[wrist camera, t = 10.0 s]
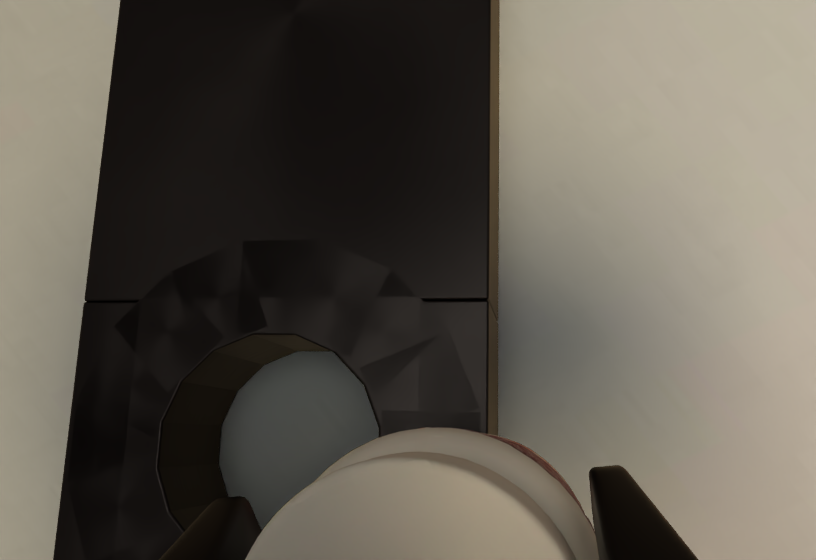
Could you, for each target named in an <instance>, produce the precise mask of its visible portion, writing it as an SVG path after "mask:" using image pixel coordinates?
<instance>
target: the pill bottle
mask: <svg viewBox="0 0 816 560" xmlns="http://www.w3.org/2000/svg"><path fill="white" fill-rule="evenodd" d="M245 560H599V555H598V549H597V542H596V536H595V531H594V529H593V527H592V525H591V523H590V521H589V519H588V518H587V516H586V515H585V513H584V511H583V509H582V507H581V504H580V502H579V501H578V499H577V498H576V496H575V494H574V493H573V491H572V490H571V488H570V487H569V485H568V484H567V482H566V481H565V480H564V478H563V477H562V476H561V475H560V474H559V473H558V472H557V471H556V470H555V469H554V468H553V467H552V466H551V465H550V464H549V463H548V462H547V461H546V460H545V459H543V458H542V457H541V456H539V455H538V454H537V453H535V452H534V451H532V450H530V449H529V448H527V447H525V446H523V445H521V444H519V443H517V442H514V441H512V440H509V439H506V438H503V437H500V436H496V435H491V434H486V433H480V432H477V431H473V430H468V429H459V428H447V427H443V428H442V427H435V428H431V427H425V428H419V429H412V430H406V431H400V432H396V433H392V434H389V435H386V436H382V437H379V438H377V439H374V440H372V441H370V442H368V443H366V444H364V445H362V446H360V447H358V448H356V449H354V450H352V451H351V452H349V453H348V454H346V455H345V456H343V457H342V458H340V459H339V460H337V461H336V462H335V463H334V464H332V465H331V466H330V467H329V468H327V469H326V470H325V471H324V472H323V473H322V474H321V475H320V476H319V477H318V478H317V479H316V480H315V481H314V482H313V483H312V484H310V485H309V486H307V487H306V488H304V489H303V490H302V491H300V492H299V493H298V494H296V495H295V496H294V497H293V498H292V499H291V500H289V501H288V502H287V503H286V504H285V505H284V506H283V507H282V508H281V509H280V510H279V511H278V512H277V513H276V514H275V515H274V517H273V518H272V519H271V520H270V521H269V522H268V524H267V525H266V526H265V528H264V529H263V531H262V532H261V533H260V535H259V536H258V538H257V539H256V541H255V543H254V544H253V546H252V548H251V550H250V551H249V553H248V555H247V557H246V559H245Z"/></svg>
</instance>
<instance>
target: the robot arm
mask: <svg viewBox="0 0 816 560" xmlns="http://www.w3.org/2000/svg"><path fill="white" fill-rule="evenodd" d="M589 480H590V491H591V503H592V514H593V522H594V529H595V536H596V542H597V549H598V555H599V560H698V559H697V557H696V556H695V555H694V554H693V552H692V551H691V550H690V549H689V547H688V546H687V545H686V544H685V542H684V541H683V540H682V539H681V537H680V536H679V535H678V534H677V533H676V531H675V530H674V529H673V528H672V526H671V525H670V524H669V523H668V521H667V520H666V519H665V518H664V516H663V515H662V514H661V513H660V511H659V510H658V509H657V508H656V506H655V505H654V504H653V503H652V501H651V500H650V499H649V498H648V497H647V495H646V494H645V493H644V492H643V490H642V489H641V488H640V487H639V485H638V484H637V483H636V482H635V480H634V479H633V478H632V477H631V475H630V474H629V473H628V472H627V471H626V469H624V468H623V467H622V466H619V465H615V466H603V467H594V468H592V469H591V470H590V472H589ZM261 532H262V531H261V528H260V526H259V524H258V521H257V519H256V517H255V514H254V512H253V510H252V507H251V505H250V503H249V501H248V500H247V499H246V498H245V497H241V496H239V497H226V498H218V499H216V500H214V501H213V502H212V503H211V504H210V505H209V506H208V507H207V508H206V509H205V510H204V511H203V512H202V513H201V514H200V516H199V517H198V518H197V519H196V520H195V521H194V522H193V523H192V524H191V525H190V526H189V527H188V529H187V530H186V531H185V532H184V533H183V534H182V535H181V536H180V537H179V538H178V539H177V541H176V542H175V543H174V544H173V545H172V546H171V547H170V548H169V549H168V550H167V551H166V552H165V554H164V555H163V556H162V557H161V558H160V559H159V560H245V559H246V557H247V555H248V553H249V551H250V550H251V548H252V546H253V544H254V543H255V541H256V539H257V538H258V536H259V535H260V533H261Z"/></svg>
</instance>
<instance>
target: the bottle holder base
mask: <svg viewBox="0 0 816 560" xmlns="http://www.w3.org/2000/svg"><path fill="white" fill-rule="evenodd" d="M498 230H499V0H120V9H119V17H118V25H117V34H116V42H115V50H114V59H113V67H112V76H111V84H110V92H109V101H108V109H107V117H106V126H105V134H104V142H103V151H102V159H101V167H100V176H99V184H98V192H97V201H96V209H95V217H94V226H93V234H92V242H91V251H90V259H89V267H88V276H87V284H86V292H85V301H86V303H84V307H83V316H82V324H81V332H80V341H79V349H78V357H77V366H76V374H75V382H74V391H73V399H72V407H71V416H70V424H69V433H68V441H67V449H66V458H65V466H64V474H63V483H62V491H61V499H60V508H59V516H58V524H57V533H56V541H55V549H54V558H53V560H159V559H160V558H161V557H162V556H163V555H164V554H165V552H166V551H167V550H168V549H169V548H170V547H171V546H172V545H173V544H174V543H175V542H176V541H177V539H178V538H179V537H180V536H181V535H182V534H183V533H184V532H185V531H186V530H187V529H188V527H189V526H190V525H191V524H192V523H193V522H194V521H195V520H196V519H197V518H198V517H199V516H200V514H201V513H202V512H203V511H204V510H205V509H206V508H207V507H208V506H209V505H210V504H211V503H212V502H213V501H214V500H216V499H218V498H226V497H228V496H227V493H226V490H225V486H224V483H223V479H222V476H221V473H220V469H219V466H218V459H219V446H220V433H221V425H222V422H223V420H224V418H225V416H226V414H227V412H228V410H229V407H230V405H231V403H232V401H233V399H234V397H235V395H236V392H237V391H238V390H239V389H240V388H241V387H242V386H243V385H244V384H245V383H246V382H247V381H248V380H249V379H250V378H251V377H252V376H253V375H254V374H255V373H256V372H257V371H258V370H259V369H260V368H261V367H262V366H263V365H265V364H267V363H270V362H272V361H274V360H277V359H279V358H282V357H284V356H287V355H289V354H291V353H294V352H296V351H332V352H334V353H335V354H336V355H337V356H338V357H339V359H340V360H341V361H342V362H343V363H344V364H345V365H346V366H347V367H348V368H349V370H350V371H351V372H352V373H353V374H354V375H355V376H356V377H357V378H358V379H359V380H360V382H361V383H362V384H363V385H364V387H365V390H366V393H367V396H368V399H369V401H370V404H371V407H372V410H373V413H374V415H375V418H376V421H377V424H378V427H379V437H382V436H386V435H389V434H392V433H396V432H400V431H406V430H412V429H419V428H425V427H431V428H435V427H442V428H443V427H447V428H459V429H468V430H473V431H477V432H480V433H486V434H491V435H496V436H498V323H497V321H498Z"/></svg>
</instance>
